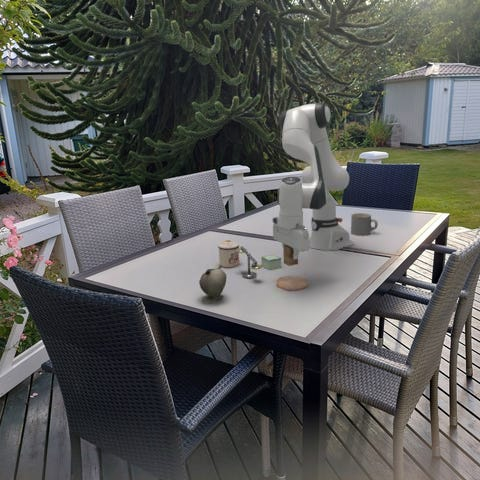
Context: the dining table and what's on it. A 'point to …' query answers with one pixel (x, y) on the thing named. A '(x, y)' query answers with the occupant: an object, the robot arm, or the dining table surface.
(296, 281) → the saucer
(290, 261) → the block
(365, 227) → the coffee mug
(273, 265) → the cover
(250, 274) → the balance
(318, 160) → the robot arm
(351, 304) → the dining table surface
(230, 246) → the teacup with lid
